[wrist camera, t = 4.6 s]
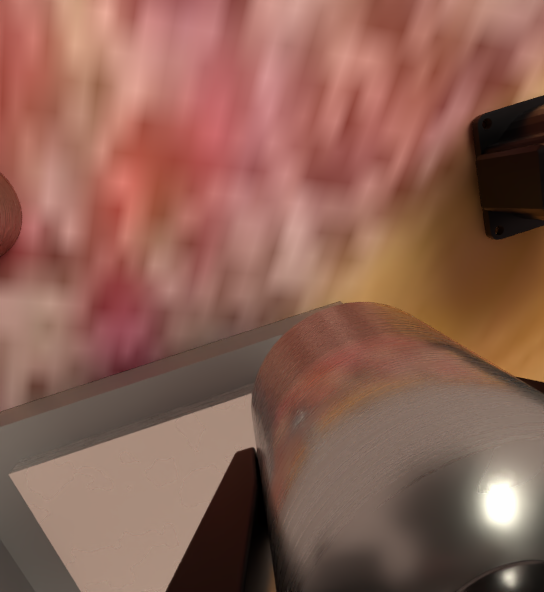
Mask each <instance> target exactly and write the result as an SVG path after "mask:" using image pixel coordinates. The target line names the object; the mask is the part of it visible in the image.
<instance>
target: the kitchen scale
mask: <svg viewBox="0 0 544 592" xmlns="http://www.w3.org/2000/svg"><path fill="white" fill-rule="evenodd" d="M341 304H343V303H341V302H340V301H339V302H336V303H333V304H330V305H327V306H324V307H321V308H318V309H315V310H312V311H309V312H305V313H302V314H299V315H296V316H293V317H290V318H287V319H284V320H281V321H278V322H275V323H272V324H269V325H266V326H263V327H259V328H256V329H253V330H250V331H247V332H244V333H241V334H238V335H235V336H232V337H229V338H226V339H223V340H220V341H216V342H213V343H210V344H207V345H204V346H201V347H198V348H195V349H192V350H189V351H186V352H183V353H180V354H177V355H173V356H170V357H167V358H164V359H161V360H158V361H155V362H152V363H149V364H146V365H143V366H140V367H137V368H134V369H131V370H127V371H124V372H121V373H118V374H115V375H112V376H109V377H106V378H103V379H100V380H97V381H94V382H91V383H88V384H84V385H81V386H78V387H75V388H72V389H69V390H66V391H63V392H60V393H57V394H54V395H51V396H48V397H45V398H41V399H38V400H35V401H32V402H29V403H26V404H23V405H20V406H17V407H14V408H11V409H8V410H5V411H2V412H0V592H165V591H166V589H167V587H168V585H169V583H170V581H171V579H172V577H173V575H174V573H175V571H176V569H177V567H178V565H179V563H180V561H181V559H182V557H183V556H184V554H185V552H186V550H187V548H188V546H189V544H190V542H191V540H192V538H193V536H194V534H195V532H196V530H197V528H198V526H199V524H200V522H201V520H202V518H203V516H204V514H205V512H206V510H207V508H208V506H209V504H210V502H211V500H212V498H213V496H214V494H215V492H216V490H217V488H218V486H219V484H220V482H221V480H222V478H223V476H224V474H225V472H226V470H227V468H228V466H229V464H230V462H231V460H232V458H233V456H234V454H235V453H236V452H237V451H240V450H244V449H247V448H250V447H254V448H255V450H256V443H255V436H254V429H253V422H252V411H251V401H252V392H253V387H254V382H255V379H256V377H257V374H258V371H259V369H260V367H261V365H262V363H263V361H264V359H265V357H266V356H267V354H268V353H269V351H270V350H271V348H272V347H273V346H274V345H275V343H276V342H277V341H278V340H279V339H280V338H281V337H282V336H283V335H284V334H285V333H286V332H287V331H288V330H290V329H291V328H292V327H293V326H294V325H296V324H297V323H299V322H300V321H302V320H303V319H305V318H306V317H308V316H310V315H312V314H314V313H316V312H318V311H321V310H324V309H326V308H329V307H332V306H336V305H341ZM256 452H257V450H256Z"/></svg>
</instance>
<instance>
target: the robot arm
mask: <svg viewBox="0 0 544 592" xmlns="http://www.w3.org/2000/svg"><path fill="white" fill-rule="evenodd" d="M483 121H485V122H486V128H485V129H484V128H483V126H482V122H483ZM473 136H474V144H475V152H476V168H477V175H478V183H479V191H480V199H481V206H482V208H483V215H484V223H485V231H486V235H487V237H488V238H490V239H495V240H499V239H503V238H506V237H509V236H512V235H515V234H518V233H522V232H525V231H528V230H531V229H534V228H537V227H540V226H543V225H544V95H543V96H540V97H537V98H533V99H530V100H527V101H524V102H520V103H517V104H514V105H511V106H507V107H504V108H501V109H498V110H494V111H491V112H488V113H485V114H482V115H479V116H478V117H476V119H475V120H474V122H473ZM496 227H498V232H497V233H495V229H496ZM516 378H518V379H520V380H521V381H523V382H525V383H526V384H528V385H530V386H531V387H533V388H535V389H537V390H538V391H540V392H542V393H543V394H544V382H539V381H534V380H529V379H524V378H519V377H516ZM165 592H276V585H275V578H274V571H273V564H272V557H271V550H270V543H269V536H268V529H267V521H266V514H265V507H264V500H263V493H262V486H261V479H260V472H259V464H258V457H257V452H256V450H255V448H254V447H250V448H247V449H244V450H240V451H237V452H236V453H235V454H234V456H233V458H232V460H231V462H230V464H229V466H228V468H227V470H226V472H225V474H224V476H223V478H222V480H221V482H220V484H219V486H218V488H217V490H216V492H215V494H214V496H213V498H212V500H211V502H210V504H209V506H208V508H207V510H206V512H205V514H204V516H203V518H202V520H201V522H200V524H199V526H198V528H197V530H196V532H195V534H194V536H193V538H192V540H191V542H190V544H189V546H188V548H187V550H186V552H185V554H184V556H183V557H182V559H181V561H180V563H179V565H178V567H177V569H176V571H175V573H174V575H173V577H172V579H171V581H170V583H169V585H168V587H167V589H166V591H165Z"/></svg>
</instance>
